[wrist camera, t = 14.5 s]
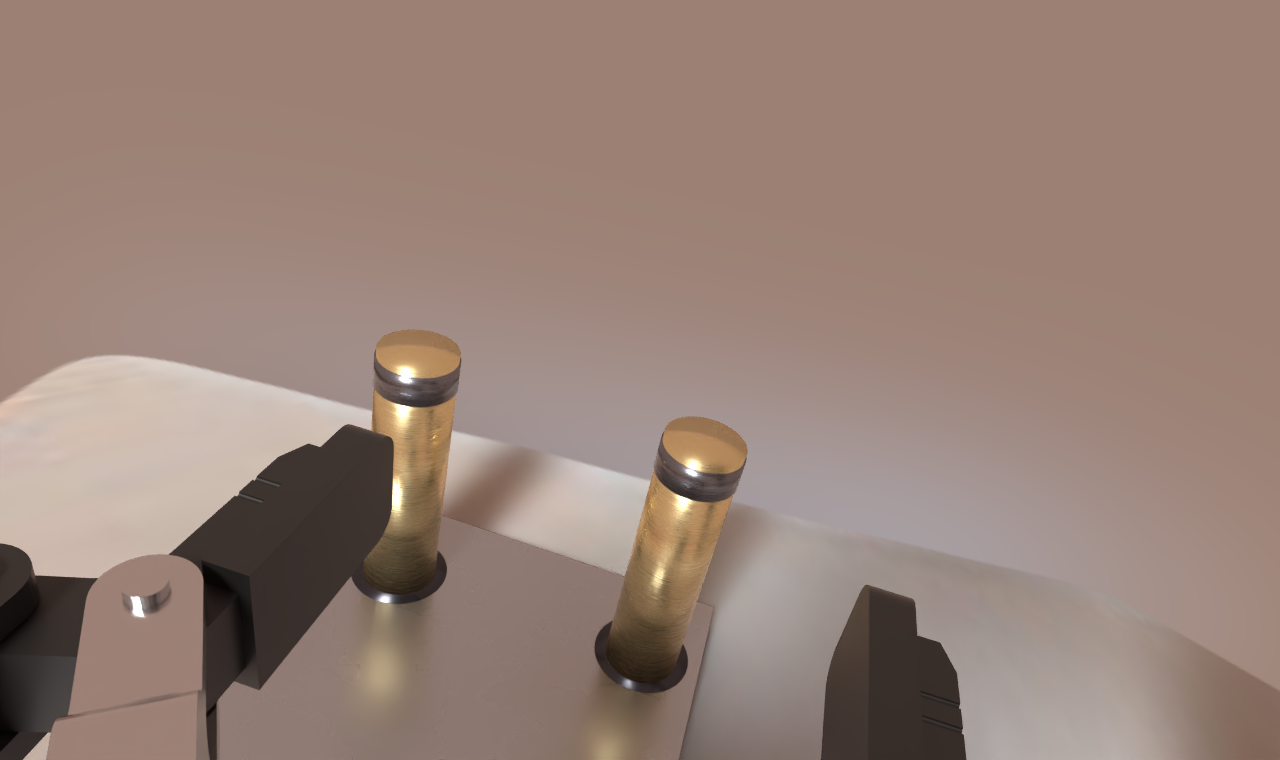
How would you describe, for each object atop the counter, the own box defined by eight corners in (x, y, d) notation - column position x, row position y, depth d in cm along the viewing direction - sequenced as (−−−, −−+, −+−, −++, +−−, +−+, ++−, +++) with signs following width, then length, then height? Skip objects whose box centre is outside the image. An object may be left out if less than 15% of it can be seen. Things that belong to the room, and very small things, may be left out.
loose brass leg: (683, 639, 36) (753, 432, 30) (668, 695, 33) (742, 478, 28) (615, 615, 36) (672, 406, 31) (595, 669, 34) (654, 450, 28)
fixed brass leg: (448, 557, 37) (475, 344, 32) (415, 605, 34) (439, 381, 29) (384, 536, 37) (400, 321, 32) (347, 581, 35) (358, 355, 29)
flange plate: (707, 625, 39) (713, 606, 38) (627, 967, 26) (635, 947, 25) (390, 517, 40) (392, 498, 40) (165, 787, 27) (162, 764, 27)
